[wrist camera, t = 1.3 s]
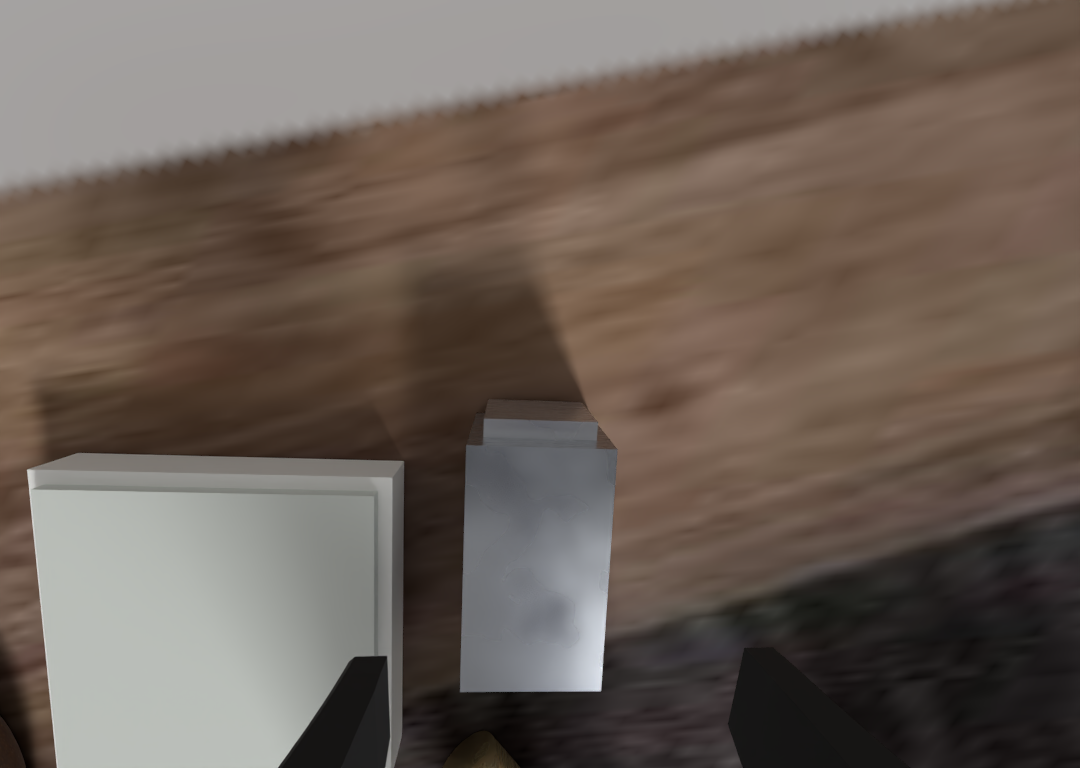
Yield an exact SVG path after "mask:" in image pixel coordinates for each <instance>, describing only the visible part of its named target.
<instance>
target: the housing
mask: <svg viewBox="0 0 1080 768" xmlns="http://www.w3.org/2000/svg"><path fill="white" fill-rule="evenodd" d="M616 464H617V448H616V447H615V446H614V444H613V443H612V442H611V441H610V439H609V438H608V437H607V436H606V435H605V433H604V432H603V431H602V430H601V428H600V427H599V426H598V422H597V420H596V419H595V418H594V417H593V416H592V414H591V413H590V412H589V411H588V410H587V408H586V407H585V406H584V405H583V403H582V402H561V401H531V400H501V399H488V403H487V407H486V411H485V413H476V416H475V419H474V422H473V425H472V429H471V432H470V435H469V438H468V441H467V444H466V472H465V511H464V551H463V590H462V629H461V668H460V692H551V691H601V683H602V669H603V654H604V639H605V625H606V610H607V596H608V581H609V566H610V552H611V537H612V522H613V508H614V493H615V479H616Z"/></svg>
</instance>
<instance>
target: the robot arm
mask: <svg viewBox="0 0 1080 768" xmlns="http://www.w3.org/2000/svg"><path fill="white" fill-rule="evenodd" d="M728 725H729V728H730V731H731V734H732V737H733V740H734V743H735V746H736V749H737V752H738V755H739V758H740V761H741V764H742V766H743V768H910V767H909V766H907V765H906V764H905V763H904V762H903V761H901V760H900V759H899V758H898V757H897V756H895V755H894V754H893V753H892V752H891V751H889V750H888V749H887V748H886V747H885V746H884V745H882V744H881V743H880V742H879V741H878V740H877V739H875V738H874V737H873V736H872V735H871V734H870V733H869V732H867V731H866V730H865V729H864V728H863V727H862V726H861V725H859V724H858V723H857V722H856V721H855V720H854V719H853V718H851V717H850V716H849V715H848V714H847V713H846V712H845V711H844V710H842V709H841V708H840V707H839V706H838V705H837V704H836V703H835V702H834V701H832V700H831V699H830V698H829V697H828V696H827V695H826V694H825V693H823V692H822V691H821V690H820V689H819V688H818V687H817V686H816V685H815V684H813V683H812V682H811V681H810V680H809V679H808V678H807V677H806V676H805V675H803V674H802V673H801V672H800V671H799V670H798V669H797V668H796V667H794V666H793V665H792V664H791V663H790V662H789V661H788V660H787V659H785V658H784V657H783V656H782V655H781V654H780V653H778V652H777V651H776V650H775V649H774V648H744V653H743V657H742V662H741V667H740V671H739V676H738V681H737V685H736V690H735V694H734V699H733V704H732V708H731V713H730V718H729V722H728ZM389 741H390V716H389V689H388V661H387V656H357V657H354V658H353V659H351V660H350V661H349V662H348V664H347V666H346V667H345V669H344V671H343V672H342V674H341V676H340V677H339V679H338V681H337V682H336V684H335V685H334V687H333V689H332V690H331V692H330V693H329V695H328V696H327V698H326V699H325V701H324V702H323V704H322V706H321V707H320V708H319V710H318V711H317V713H316V714H315V716H314V717H313V719H312V720H311V722H310V723H309V725H308V726H307V728H306V729H305V731H304V732H303V733H302V735H301V736H300V738H299V739H298V740H297V742H296V743H295V745H294V746H293V747H292V749H291V750H290V752H289V753H288V754H287V756H286V757H285V759H284V760H283V761H282V763H281V764H280V766H279V767H278V768H385V766H386V760H387V754H388V747H389Z"/></svg>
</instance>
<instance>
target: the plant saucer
mask: <svg viewBox="0 0 1080 768" xmlns="http://www.w3.org/2000/svg"><path fill="white" fill-rule="evenodd" d="M0 768H26V766H25V762H24V759H23V755H22V753H21V750H20V748H19V745H18V744H17V742H16V740H15V738H14V736H13V734H12V732H11V730H10V728H9V727H8V726H7V724H6V723H5V721H4V720H3V719H2V717H1V716H0Z"/></svg>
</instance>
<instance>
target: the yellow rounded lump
mask: <svg viewBox="0 0 1080 768" xmlns="http://www.w3.org/2000/svg"><path fill="white" fill-rule="evenodd" d="M442 768H520V766H519V765H518V764H517V763H516V762H515V761H514V759H513V758H512V757H511V756H510V755H509V754H508V752H507V751H506V750H505V749H504V748H503V747H502V746H501V744H500V743H499V742H498V741H497V740H496V739H495V737H494V736H493V735H492V734H491V733H490V732H488V731H479V732H476V733H474V734H472V735H470V736H469V737H468V738H466V739H465V740H463V741H462V742H461V743H460V744H459V745H458V746H457V747H456V748H455V749H454V751H453V752H452V753H451V754H450V756H449V757H448V759H447V760H446V762H445V764H444V765H443V767H442Z"/></svg>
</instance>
